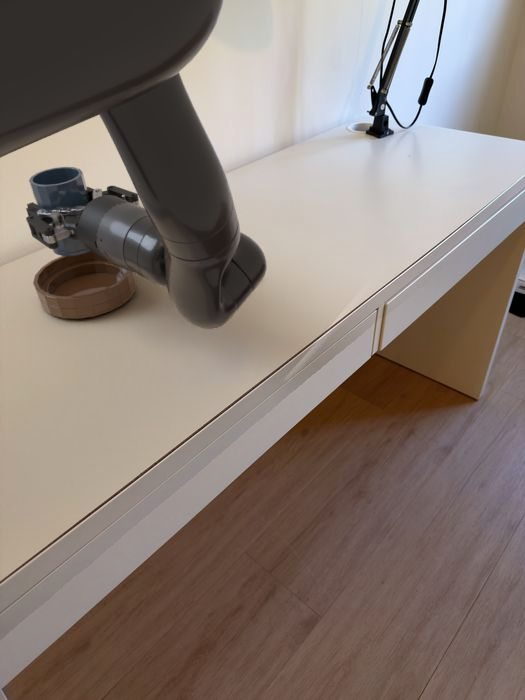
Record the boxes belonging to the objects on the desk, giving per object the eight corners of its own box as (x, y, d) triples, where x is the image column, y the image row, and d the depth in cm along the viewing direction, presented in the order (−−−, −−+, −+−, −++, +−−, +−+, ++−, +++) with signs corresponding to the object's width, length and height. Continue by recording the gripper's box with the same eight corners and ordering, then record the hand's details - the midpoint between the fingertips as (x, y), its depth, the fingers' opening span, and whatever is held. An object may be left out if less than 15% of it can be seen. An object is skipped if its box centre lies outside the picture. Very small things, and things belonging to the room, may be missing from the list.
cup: (58, 261, 72) (34, 190, 65) (47, 242, 76) (24, 174, 70) (106, 247, 74) (87, 177, 68) (93, 230, 79) (75, 163, 72)
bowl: (53, 333, 73) (45, 310, 71) (33, 287, 83) (25, 265, 80) (150, 302, 78) (145, 278, 76) (120, 262, 88) (115, 240, 86)
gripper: (167, 185, 65) (93, 158, 74) (64, 227, 57) (-4, 191, 66) (176, 240, 70) (106, 208, 79) (82, 286, 62) (16, 245, 71)
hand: (56, 201), depth 73 cm, fingers closed on cup, 7 cm apart
